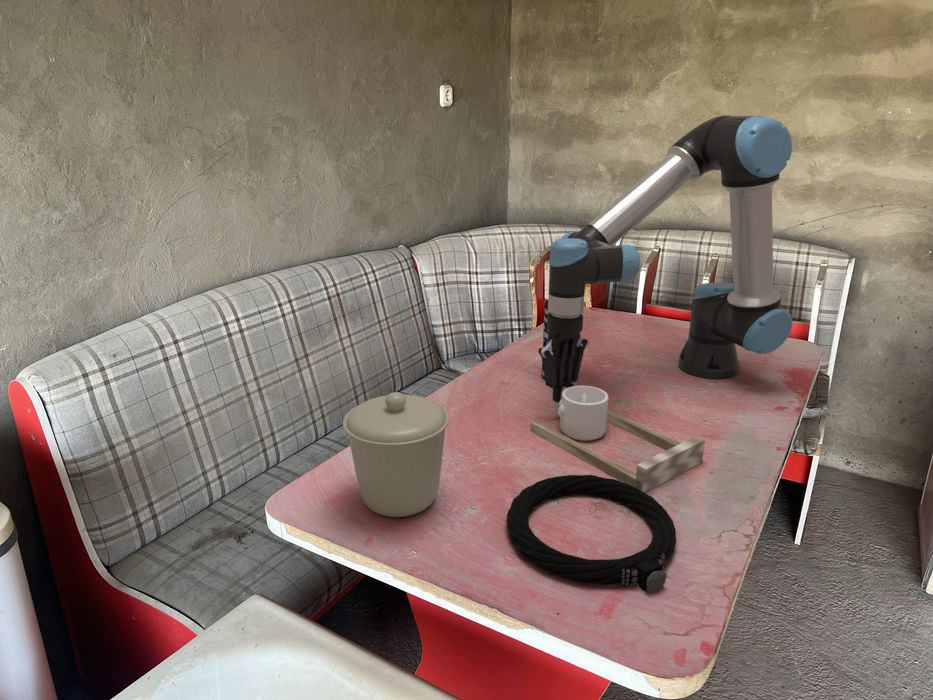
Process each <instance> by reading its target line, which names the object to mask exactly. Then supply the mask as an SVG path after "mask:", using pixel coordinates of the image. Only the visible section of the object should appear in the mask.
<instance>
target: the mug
mask: <svg viewBox="0 0 933 700" xmlns="http://www.w3.org/2000/svg"><path fill="white" fill-rule="evenodd" d="M559 405H560V407H559V411H558V414H557V415H558V416H559V422H560V423H559V424H560V429H561V432H562V434H563V435H564V436H566V437H568V438H570V439H572V440H576V441H582V442H583V441H584V442H587V441H588V442H589V441H594V440H597V439H600V438H601V437H603V436H604V435H605V433H606V431H607V423H608V422H607V410H609V394H608V393H607V392H606V391H605V390H603V389H601V388H599V387H596V386H592V385H591V386H590V385H574V386H572V387H569V388H566V389H565V390H564V391H563V392H562V399H561V400H560V402H559Z"/></svg>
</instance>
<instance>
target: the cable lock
mask: <svg viewBox="0 0 933 700" xmlns="http://www.w3.org/2000/svg"><path fill="white" fill-rule="evenodd" d="M572 495H589V496H594V497H595V496H596V497H603V498H608V499H611V500H613V501H615V502H618V503H621V504H624V505H627V506H628V507H630V508H631V509H632V510H634V511H636V513H638V514H639V515H641V516H642V517H643V518H644V519H645V520H647V522H648V523H649V525H650V527H651V530H652V538H651V541H650V543H649V544H648V546H647V547H646V548H644V549H642V550H640V551H638V552H636V553H633V554H631V555H627V556H625V557H621V558H614V559H613V558H611V559H589V558H584V557H580V556H576V555H571V554H568V553H565V552H564V553H563V552H561V551H559V550H558V549H555V548H554V547H551V546H550V545H548V544H546V543H544V542H543V541H542V540H540V538H539V537H538V536H536V535H535V533H534V532H533V530H532V529H531V527H530V524H529V517H530V514H531V512H532V511H533V509H534V508H536V507H537V506H538V505H539V506H540V504H542V503H543V502H546V501H548V500H551V499H553V498H556V497H557V498H558V497H561V496H562V497H563V496H572ZM506 527H507V531H508V535H509V538H510V540H511V543H512V544H513V545H514V546H515V547H516V549H517V550H518V552H519V554H521V555H522V556H523V557H525V558H526V559H528V560H529V561H530V562H531V563H533V564H534V565H536V566H538V567H539V568H540V569H541V570H543V571H544V572H547V573H549V574H551V575H554V576H557V577H561V578H563V579H567V580H570V581H574V582H576V583H580V584H593V585H594V584H595V585H603V586H604V585H605V586H611V585H618V584H619V585H620V587H623V586H624V587H626V588H628V587H629V586H630V587H635V586H636V585H637V586H638V587H639V588H640V589H641V591H645V590H646V592H648V593H650V594H651V593H656V592H659V591H660V590H661V589H662V588H663V587H664V585H665V584H666V581H667V572H665V571H664V568H665V566H666V564H667V562H668V561H669V560H670V558H671V557H672V555H673V554H674V550H675V548H676V544H677V531H676V527H675V524H674V520H673V519H672V518H671V516H670V515H669V513H668V512H667V510H666V509H665V508H664V506H663V505H661V503H659V502H658V501H657V500H656V499H655V498H654V497H653V496H651V495H649V494H648V493H647V492H645V493H644V492H642V491H640V490H639V489H637V488H635V487H633V486H631V485H629V484H626V483H624V482H622V481H621V480H619V479H616V478H607V477H603V476H598V475H593V474H582V475H581V474H580V475H579V474H567V475H560V476H558V475H557V476H553V477H548V478H545V479H542V480H539V481H536V482H534V484H532V485H529V486H527V487H526V488H524V489H521V491H520V493H519V494H517V496H515V497H514V498H513V499H512V502H511V504H510V507H509V509H508V510H507V514H506Z"/></svg>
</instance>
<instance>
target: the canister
mask: <svg viewBox="0 0 933 700" xmlns="http://www.w3.org/2000/svg"><path fill="white" fill-rule="evenodd" d="M449 423H450V415H449V412H448V410H447V409H446V408H445V407H444V406H443V405H441V404H440V403H438V402H435V401H433V400H431V399H428V398H426V397H423V396H420V395H414V394H403V393H402V392H399V391H394V392H390V393H388V394H386V395H381V396H377V397H374V398H370V399H367V400H365V401H363V402H362V403H360V404H358V405H356V406H354V407H353V408H351V409H350V410H349V411H347V413H346V414H345V415H344V416H343V420H342V428H343V429H344V432H345V433H346V434H347V435H348V441H349V445H350V451H351V457H352V462H353V465H354V467H353V468H354V469H355V470H354V472H355V475H356V481H357V483H358V489H359V492H360V496H361V499H362V501H363V502H364V505H366V506H367V507H368V508H369V510H371V511H373V512H374V513H377V514H378V515H382V516H383V517H384V516H385V517H386V516H387V517H388V518H389V517H390V518H391V517H392V518H400V517H403V518H404V517H410V516H415V515H416V514H419V513H421V512H422V511H425V509H427V508H429V507H430V506H431V504H432V503H433V502H434V500H435V499H436V496H437V494H438V492H439V487H440V479H441V471H442V465H443V464H442V463H443V455H444V445H445V444H444V443H445V435H446V434H445V432H446V428H447V427H448V425H449Z"/></svg>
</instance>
